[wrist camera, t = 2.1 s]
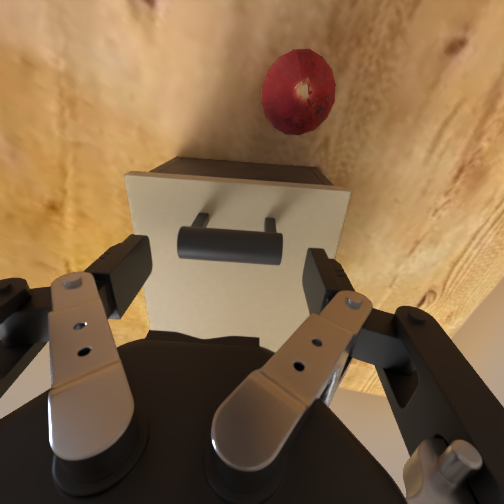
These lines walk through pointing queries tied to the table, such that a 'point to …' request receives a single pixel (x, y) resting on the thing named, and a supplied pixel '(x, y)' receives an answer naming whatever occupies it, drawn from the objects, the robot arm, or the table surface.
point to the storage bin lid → (231, 251)
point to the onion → (298, 92)
